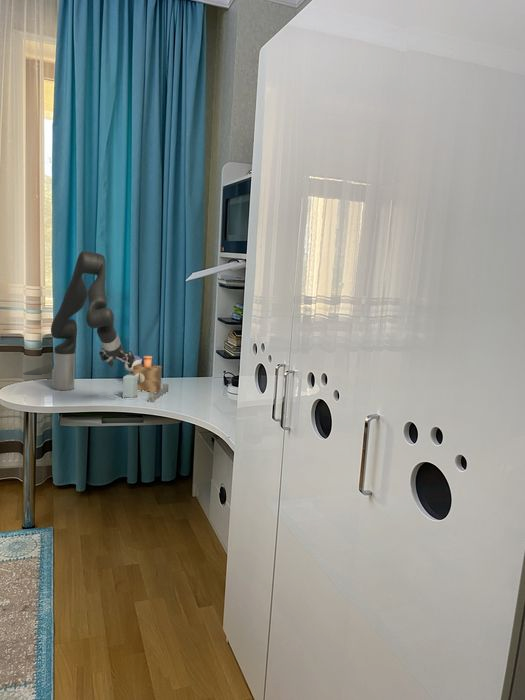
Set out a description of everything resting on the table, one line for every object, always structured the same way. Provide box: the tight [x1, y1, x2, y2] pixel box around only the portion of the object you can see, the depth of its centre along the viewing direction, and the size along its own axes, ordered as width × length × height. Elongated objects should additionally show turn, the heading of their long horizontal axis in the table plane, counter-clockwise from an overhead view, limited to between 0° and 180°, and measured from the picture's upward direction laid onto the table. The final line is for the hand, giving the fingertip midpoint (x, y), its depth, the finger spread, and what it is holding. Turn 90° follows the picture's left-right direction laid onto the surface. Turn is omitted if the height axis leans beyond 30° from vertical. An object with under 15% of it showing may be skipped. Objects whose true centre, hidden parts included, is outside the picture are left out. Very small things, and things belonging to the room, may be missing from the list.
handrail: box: [147, 383, 169, 403], centre depth 279 cm, size 2×22×4 cm, turn 171°
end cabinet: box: [133, 364, 163, 393], centre depth 289 cm, size 12×8×12 cm, turn 81°
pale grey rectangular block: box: [121, 374, 138, 399], centre depth 274 cm, size 5×5×10 cm
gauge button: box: [143, 355, 153, 368], centre depth 289 cm, size 4×4×8 cm
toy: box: [122, 354, 144, 375], centre depth 300 cm, size 11×10×15 cm
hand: (121, 365), depth 260 cm, fingers open, 8 cm apart
